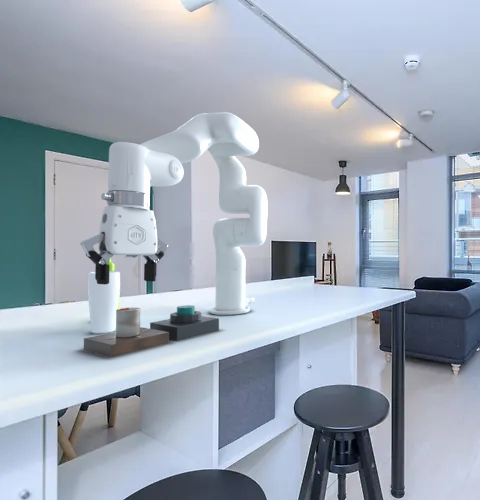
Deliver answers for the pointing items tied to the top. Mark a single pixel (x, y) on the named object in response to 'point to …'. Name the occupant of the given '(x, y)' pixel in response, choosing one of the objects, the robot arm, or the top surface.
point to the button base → (186, 325)
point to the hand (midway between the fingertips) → (127, 282)
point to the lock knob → (127, 322)
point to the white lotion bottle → (103, 302)
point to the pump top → (185, 310)
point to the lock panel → (125, 342)
